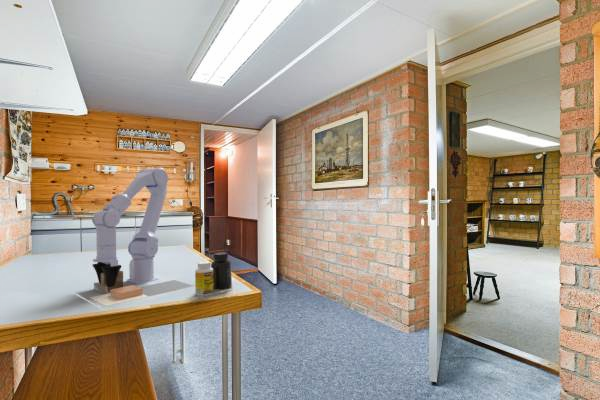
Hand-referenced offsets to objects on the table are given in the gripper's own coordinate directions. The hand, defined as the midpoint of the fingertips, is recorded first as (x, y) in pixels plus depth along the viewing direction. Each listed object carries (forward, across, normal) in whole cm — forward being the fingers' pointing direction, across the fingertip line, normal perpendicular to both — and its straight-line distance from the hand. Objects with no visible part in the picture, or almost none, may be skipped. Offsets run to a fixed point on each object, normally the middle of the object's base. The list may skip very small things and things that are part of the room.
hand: (106, 285), depth 109 cm
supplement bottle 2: (+2, +29, +26) cm, 39 cm away
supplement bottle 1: (+2, +31, +18) cm, 36 cm away
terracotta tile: (+2, +13, +1) cm, 13 cm away
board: (+2, +13, +7) cm, 15 cm away
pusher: (+2, 0, +2) cm, 3 cm away
